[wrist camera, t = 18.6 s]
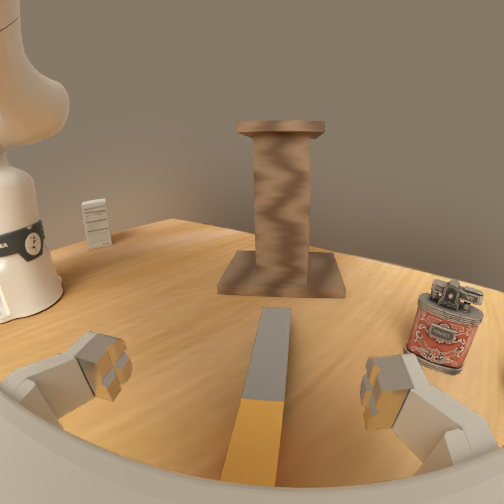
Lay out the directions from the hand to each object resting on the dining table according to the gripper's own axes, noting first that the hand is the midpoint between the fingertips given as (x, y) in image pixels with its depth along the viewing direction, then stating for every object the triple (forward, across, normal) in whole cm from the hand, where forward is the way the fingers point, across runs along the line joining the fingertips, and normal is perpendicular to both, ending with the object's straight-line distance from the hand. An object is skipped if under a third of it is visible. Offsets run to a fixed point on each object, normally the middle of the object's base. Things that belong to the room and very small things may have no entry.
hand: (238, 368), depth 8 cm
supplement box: (+57, +52, +14) cm, 79 cm away
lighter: (+17, -19, +15) cm, 29 cm away
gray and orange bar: (+11, 0, +15) cm, 18 cm away
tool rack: (+41, 0, +15) cm, 44 cm away
